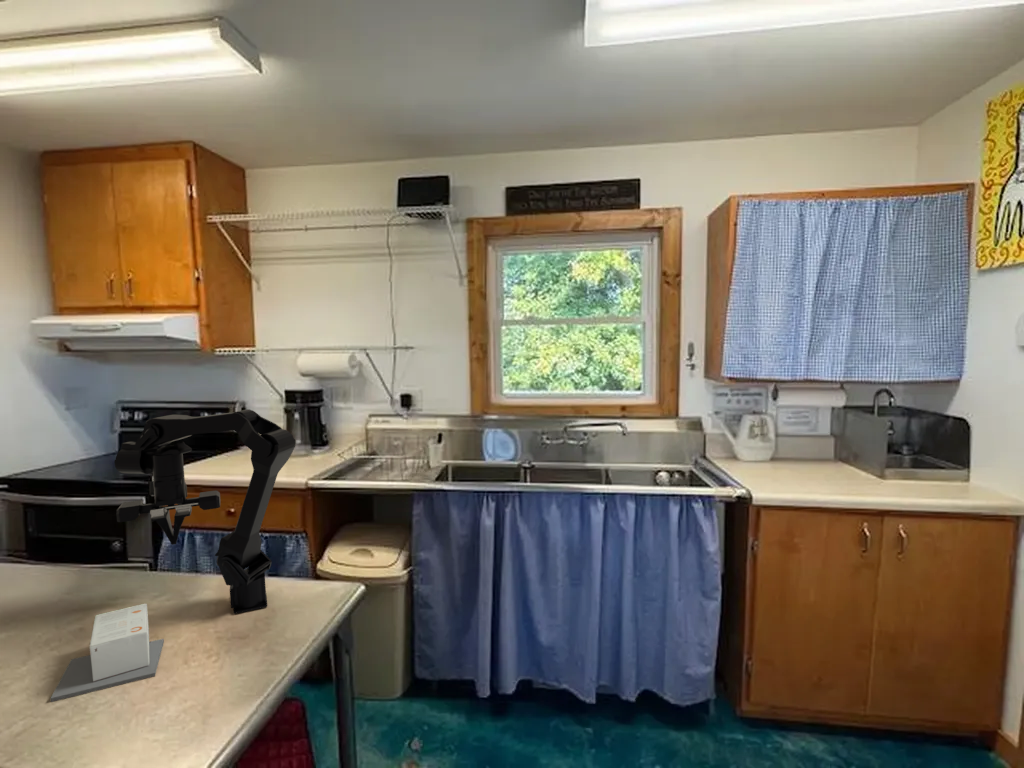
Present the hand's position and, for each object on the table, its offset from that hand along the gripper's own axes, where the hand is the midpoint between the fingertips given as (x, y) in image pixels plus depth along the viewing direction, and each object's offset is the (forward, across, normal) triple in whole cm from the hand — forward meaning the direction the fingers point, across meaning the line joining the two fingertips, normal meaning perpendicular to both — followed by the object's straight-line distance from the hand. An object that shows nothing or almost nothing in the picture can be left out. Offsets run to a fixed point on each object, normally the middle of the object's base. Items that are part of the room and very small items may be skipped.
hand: (174, 543), depth 118 cm
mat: (+13, +8, +24) cm, 28 cm away
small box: (+9, +8, +14) cm, 19 cm away
